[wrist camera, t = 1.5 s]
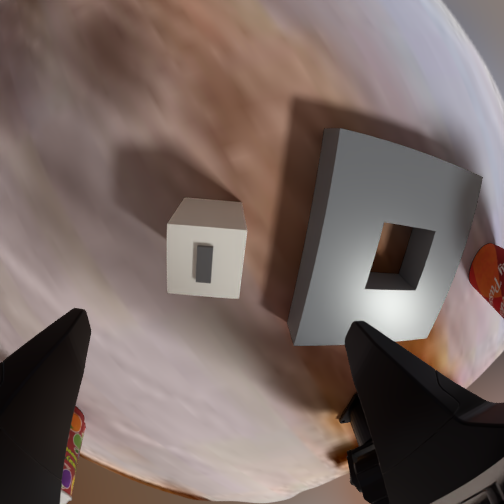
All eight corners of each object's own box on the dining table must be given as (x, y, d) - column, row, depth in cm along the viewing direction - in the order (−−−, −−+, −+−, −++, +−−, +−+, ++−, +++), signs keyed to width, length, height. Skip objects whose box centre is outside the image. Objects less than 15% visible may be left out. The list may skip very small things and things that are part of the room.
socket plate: (412, 321, 26) (426, 338, 23) (287, 322, 24) (293, 345, 21) (460, 170, 19) (482, 177, 17) (324, 128, 18) (340, 128, 15)
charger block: (235, 254, 21) (239, 301, 15) (182, 250, 21) (166, 295, 15) (241, 202, 20) (247, 232, 14) (184, 197, 19) (166, 225, 13)
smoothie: (103, 421, 29) (76, 542, 11) (75, 428, 31) (48, 530, 12) (57, 385, 26) (10, 511, 8) (34, 395, 27) (-7, 499, 9)
